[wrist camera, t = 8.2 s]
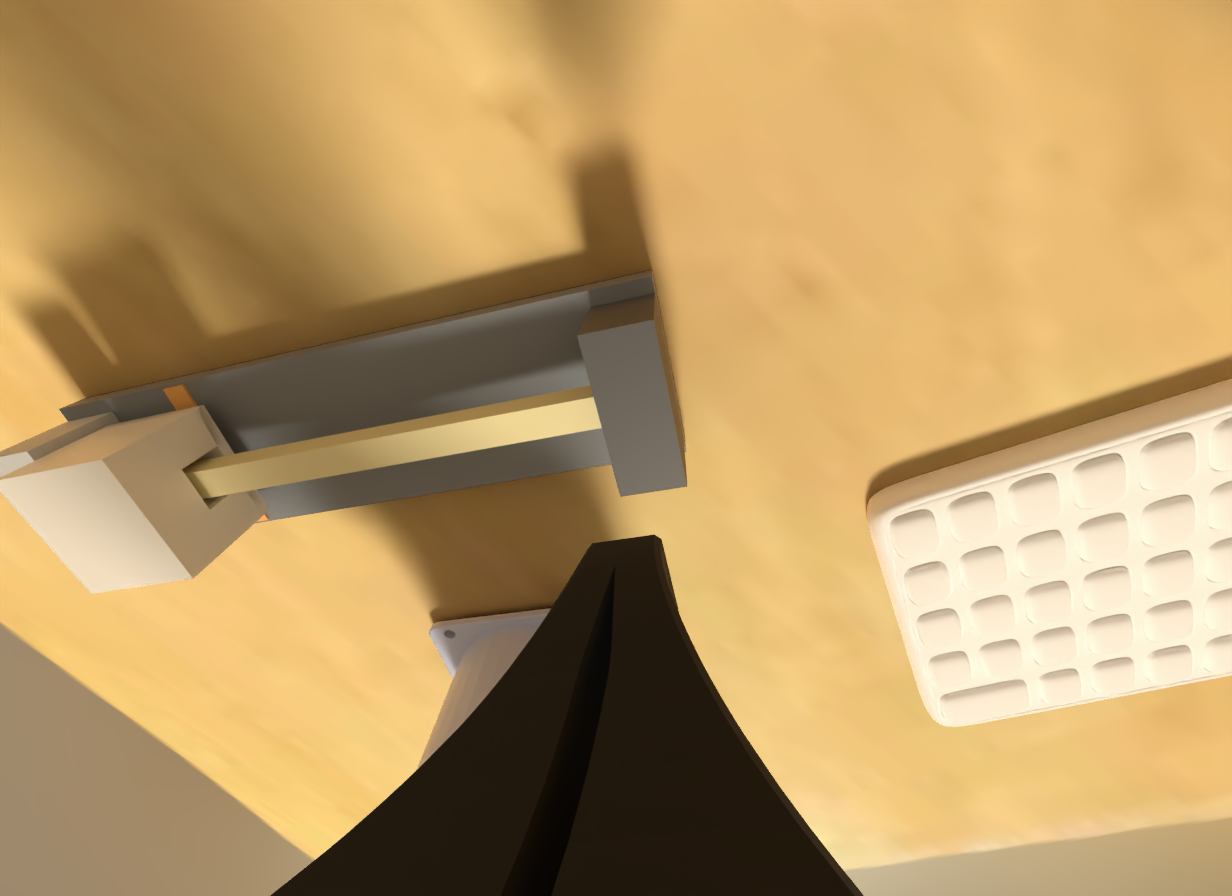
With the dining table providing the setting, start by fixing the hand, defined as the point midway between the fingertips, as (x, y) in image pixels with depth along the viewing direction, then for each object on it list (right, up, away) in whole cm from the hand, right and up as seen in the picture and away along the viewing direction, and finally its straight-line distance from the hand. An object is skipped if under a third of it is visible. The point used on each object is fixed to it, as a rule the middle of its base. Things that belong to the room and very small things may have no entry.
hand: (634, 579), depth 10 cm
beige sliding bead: (-16, +2, +9) cm, 18 cm away
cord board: (-9, +4, +9) cm, 14 cm away
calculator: (+20, -1, +10) cm, 23 cm away
